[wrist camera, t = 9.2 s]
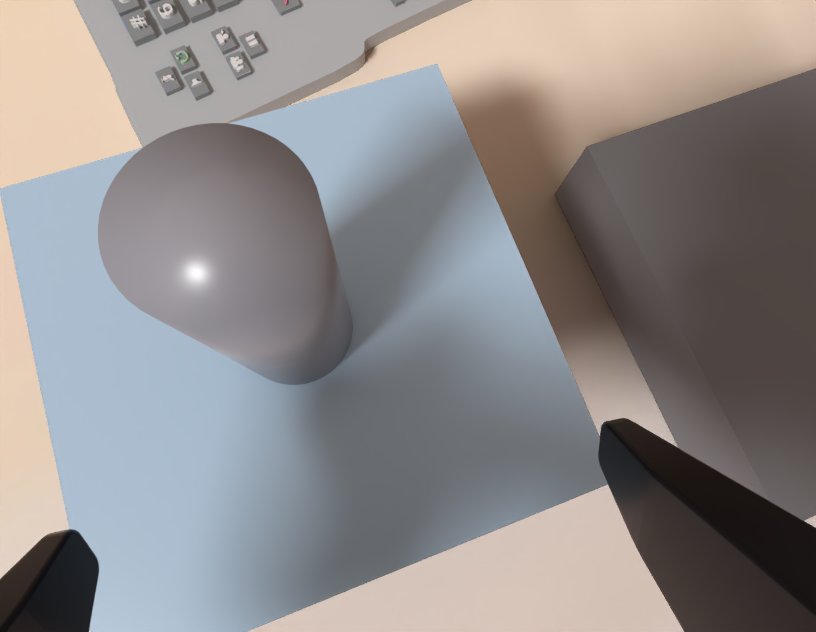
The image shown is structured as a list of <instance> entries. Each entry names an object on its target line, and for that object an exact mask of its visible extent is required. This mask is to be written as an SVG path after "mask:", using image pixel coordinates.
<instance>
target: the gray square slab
mask: <svg viewBox="0 0 816 632" xmlns="http://www.w3.org/2000/svg"><path fill="white" fill-rule="evenodd" d="M555 196H556V198H557V200H558V202H559V204H560V206H561V208H562V210H563V212H564V215H565V217H566V219H567V221H568V223H569V225H570V227H571V229H572V231H573V233H574V235H575V237H576V239H577V241H578V243H579V245H580V247H581V249H582V251H583V253H584V255H585V257H586V259H587V262H588V264H589V266H590V268H591V270H592V272H593V274H594V276H595V278H596V280H597V282H598V284H599V286H600V288H601V290H602V292H603V294H604V296H605V298H606V300H607V302H608V304H609V306H610V309H611V311H612V313H613V315H614V317H615V319H616V321H617V323H618V325H619V327H620V329H621V331H622V333H623V335H624V337H625V339H626V341H627V343H628V345H629V347H630V349H631V351H632V353H633V356H634V358H635V360H636V362H637V364H638V366H639V368H640V370H641V372H642V374H643V376H644V378H645V380H646V382H647V384H648V386H649V388H650V390H651V392H652V394H653V396H654V398H655V400H656V403H657V405H658V407H659V409H660V411H661V413H662V415H663V417H664V419H665V421H666V423H667V425H668V427H669V429H670V431H671V433H672V435H673V437H674V439H675V441H676V443H677V445H678V447H679V449H681V450H683V451H684V452H686V453H688V454H689V455H691V456H693V457H695V458H696V459H698V460H700V461H701V462H703V463H705V464H707V465H708V466H710V467H712V468H714V469H715V470H717V471H719V472H720V473H722V474H724V475H726V476H727V477H729V478H731V479H732V480H734V481H736V482H738V483H739V484H741V485H743V486H744V487H746V488H748V489H750V490H751V491H753V492H755V493H757V494H758V495H760V496H762V497H763V498H765V499H767V500H769V501H770V502H772V503H774V504H775V505H777V506H779V507H781V508H782V509H784V510H786V511H788V512H789V513H791V514H793V515H794V516H796V517H798V518H800V519H801V520H803V521H804V520H806V519H808V518H810V517H813V516H815V515H816V69H813V70H810V71H807V72H804V73H801V74H799V75H796V76H793V77H790V78H787V79H784V80H781V81H778V82H775V83H772V84H769V85H766V86H763V87H760V88H757V89H755V90H752V91H749V92H746V93H743V94H740V95H737V96H734V97H731V98H728V99H725V100H722V101H719V102H716V103H713V104H711V105H708V106H705V107H702V108H699V109H696V110H693V111H690V112H687V113H684V114H681V115H678V116H675V117H672V118H669V119H667V120H664V121H661V122H658V123H655V124H652V125H649V126H646V127H643V128H640V129H637V130H634V131H631V132H628V133H626V134H623V135H620V136H617V137H614V138H611V139H608V140H605V141H602V142H599V143H596V144H593V145H590V146H587V147H586V149H585V150H584V152H583V153H582V155H581V156H580V158H579V159H578V161H577V162H576V164H575V165H574V167H573V168H572V170H571V171H570V172H569V174H568V175H567V177H566V178H565V180H564V181H563V183H562V184H561V186H560V187H559V189H558V190H557V192H556V193H555Z"/></svg>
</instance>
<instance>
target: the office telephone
mask: <svg viewBox="0 0 816 632" xmlns="http://www.w3.org/2000/svg"><path fill="white" fill-rule="evenodd" d="M469 1H471V0H74V2H75V4H76V6H77V8H78V10H79V12H80V14H81V16H82V18H83V20H84V22H85V24H86V26H87V28H88V30H89V32H90V34H91V36H92V38H93V40H94V42H95V44H96V46H97V48H98V50H99V52H100V54H101V56H102V58H103V60H104V62H105V64H106V66H107V68H108V70H109V72H110V74H111V77H112V79H113V82H114V84H115V87H116V92H117V94H118V97H119V99H120V101H121V103H122V105H123V108H124V110H125V112H126V114H127V116H128V119H129V121H130V123H131V125H132V127H133V129H134V131H135V133H136V135H137V137H138V139H139V141H140V143H141V145H142V147H145V146H146V145H148V144H149V143H151V142H152V141H154V140H156V139H157V138H159V137H161V136H164V135H166V134H168V133H170V132H173V131H176V130H178V129H181V128H185V127H189V126H194V125H199V124H208V123H231V122H235V121H238V120H242V119H245V118H249V117H252V116H256V115H260V114H263V113H267V112H270V111H274V110H277V109H281V108H284V107H286V106H288V105H290V104H292V103H294V102H297V101H299V100H301V99H303V98H305V97H307V96H309V95H311V94H313V93H315V92H318V91H320V90H322V89H324V88H326V87H328V86H330V85H332V84H334V83H336V82H338V81H340V80H342V79H344V78H345V77H347V76H349V75H351V74H352V73H354V72H356V71H358V70H359V69H360V68H361V67H362V66H363V65H364V63H365V53H366V51H368V50H370V49H371V48H373V47H375V46H377V45H378V44H380V43H382V42H384V41H386V40H388V39H390V38H392V37H394V36H396V35H398V34H401V33H403V32H405V31H407V30H409V29H411V28H413V27H415V26H417V25H419V24H421V23H423V22H425V21H427V20H430V19H432V18H434V17H436V16H438V15H441V14H443V13H445V12H447V11H449V10H452V9H454V8H456V7H458V6H460V5H462V4H465V3H467V2H469Z"/></svg>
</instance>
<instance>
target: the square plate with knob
mask: <svg viewBox="0 0 816 632" xmlns="http://www.w3.org/2000/svg"><path fill="white" fill-rule="evenodd" d="M0 196H1V200H2V205H3V210H4V215H5V220H6V224H7V229H8V234H9V239H10V244H11V249H12V253H13V258H14V263H15V268H16V273H17V278H18V282H19V287H20V292H21V297H22V302H23V306H24V311H25V316H26V321H27V326H28V331H29V335H30V340H31V345H32V350H33V355H34V360H35V364H36V369H37V374H38V379H39V384H40V389H41V393H42V398H43V403H44V408H45V413H46V417H47V422H48V427H49V432H50V437H51V442H52V446H53V451H54V456H55V461H56V466H57V471H58V475H59V480H60V485H61V490H62V495H63V500H64V504H65V509H66V514H67V519H68V524H69V528H70V529H74V530H76V531H78V532H79V533H80V534H81V535H82V537H83V538H84V540H85V541H86V542H87V544H88V545H89V547H90V548H91V550H92V551H93V552H94V554H95V555H96V557H97V559H98V562H99V576H98V582H97V588H96V593H95V599H94V605H93V611H92V617H91V623H90V630H91V632H247V631H249V630H252V629H254V628H257V627H259V626H262V625H264V624H266V623H269V622H271V621H274V620H276V619H279V618H281V617H284V616H286V615H289V614H291V613H293V612H296V611H298V610H301V609H303V608H306V607H308V606H311V605H313V604H316V603H318V602H320V601H323V600H325V599H328V598H330V597H333V596H335V595H338V594H340V593H343V592H345V591H347V590H350V589H352V588H355V587H357V586H360V585H362V584H365V583H367V582H370V581H372V580H374V579H377V578H379V577H382V576H384V575H387V574H389V573H392V572H394V571H397V570H399V569H401V568H404V567H406V566H409V565H411V564H414V563H416V562H419V561H421V560H423V559H426V558H428V557H431V556H433V555H436V554H438V553H441V552H443V551H446V550H448V549H450V548H453V547H455V546H458V545H460V544H463V543H465V542H468V541H470V540H473V539H475V538H477V537H480V536H482V535H485V534H487V533H490V532H492V531H495V530H497V529H500V528H502V527H504V526H507V525H509V524H512V523H514V522H517V521H519V520H522V519H524V518H527V517H529V516H531V515H534V514H536V513H539V512H541V511H544V510H546V509H549V508H551V507H554V506H556V505H558V504H561V503H563V502H566V501H568V500H571V499H573V498H576V497H578V496H580V495H583V494H585V493H588V492H590V491H593V490H595V489H598V488H600V487H603V486H605V485H607V484H608V483H607V481H606V479H605V476H604V474H603V472H602V470H601V467H600V464H599V460H598V450H599V442H600V436H599V434H598V432H597V429H596V427H595V425H594V422H593V420H592V418H591V416H590V413H589V411H588V409H587V406H586V404H585V402H584V400H583V397H582V395H581V393H580V390H579V388H578V386H577V383H576V381H575V379H574V377H573V374H572V372H571V370H570V367H569V365H568V363H567V361H566V358H565V356H564V354H563V351H562V349H561V347H560V344H559V342H558V340H557V338H556V335H555V333H554V331H553V328H552V326H551V324H550V322H549V319H548V317H547V315H546V312H545V310H544V308H543V305H542V303H541V301H540V299H539V296H538V294H537V292H536V289H535V287H534V285H533V283H532V280H531V278H530V276H529V273H528V271H527V269H526V267H525V264H524V262H523V260H522V257H521V255H520V253H519V250H518V248H517V246H516V244H515V241H514V239H513V237H512V234H511V232H510V230H509V228H508V225H507V223H506V221H505V218H504V216H503V214H502V211H501V209H500V207H499V205H498V202H497V200H496V198H495V195H494V193H493V191H492V189H491V186H490V184H489V182H488V179H487V177H486V175H485V172H484V170H483V168H482V166H481V163H480V161H479V159H478V156H477V154H476V152H475V150H474V147H473V145H472V143H471V140H470V138H469V136H468V133H467V131H466V129H465V127H464V124H463V122H462V120H461V117H460V115H459V113H458V111H457V108H456V106H455V104H454V101H453V99H452V97H451V94H450V92H449V90H448V88H447V85H446V83H445V81H444V78H443V76H442V74H441V72H440V69H439V67H438V65H437V64H435V65H431V66H428V67H424V68H421V69H417V70H414V71H410V72H407V73H403V74H400V75H396V76H393V77H389V78H386V79H382V80H379V81H375V82H372V83H368V84H365V85H361V86H358V87H354V88H351V89H347V90H344V91H340V92H337V93H333V94H330V95H326V96H323V97H319V98H316V99H312V100H309V101H305V102H302V103H298V104H295V105H291V106H288V107H284V108H281V109H277V110H274V111H270V112H267V113H263V114H260V115H256V116H252V117H249V118H245V119H242V120H238V121H235V122H231V123H208V124H199V125H194V126H189V127H185V128H181V129H178V130H176V131H173V132H170V133H168V134H166V135H164V136H161V137H159V138H157V139H156V140H154V141H152V142H151V143H149V144H148V145H146V146H145V147H143V148H140V149H137V150H133V151H130V152H126V153H123V154H119V155H116V156H112V157H109V158H105V159H102V160H98V161H95V162H91V163H88V164H84V165H81V166H77V167H74V168H70V169H67V170H63V171H60V172H56V173H53V174H49V175H46V176H42V177H39V178H35V179H32V180H28V181H25V182H21V183H18V184H14V185H11V186H7V187H4V188H0Z"/></svg>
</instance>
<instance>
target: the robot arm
mask: <svg viewBox="0 0 816 632" xmlns="http://www.w3.org/2000/svg"><path fill="white" fill-rule="evenodd" d="M598 460H599V464H600V467H601V470H602V472H603V474H604V476H605V479H606V481H607V483H608V485H609V488H610V490H611V492H612V494H613V497H614V499H615V501H616V503H617V506H618V508H619V510H620V512H621V515H622V517H623V519H624V521H625V524H626V526H627V528H628V530H629V533H630V535H631V537H632V539H633V541H634V543H635V546H636V548H637V549H638V551H639V553H640V555H641V557H642V559H643V561H644V562H645V564H646V566H647V567H648V569H649V571H650V573H651V574H652V576H653V578H654V580H655V581H656V583H657V585H658V587H659V588H660V590H661V592H662V594H663V595H664V597H665V599H666V601H667V602H668V604H669V606H670V608H671V609H672V611H673V613H674V614H675V616H676V618H677V620H678V621H679V623H680V625H681V627H682V628H683V630H684V632H816V528H815V527H813V526H812V525H810V524H808V523H806V522H805V521H803V520H801V519H800V518H798V517H796V516H794V515H793V514H791V513H789V512H788V511H786V510H784V509H782V508H781V507H779V506H777V505H775V504H774V503H772V502H770V501H769V500H767V499H765V498H763V497H762V496H760V495H758V494H757V493H755V492H753V491H751V490H750V489H748V488H746V487H744V486H743V485H741V484H739V483H738V482H736V481H734V480H732V479H731V478H729V477H727V476H726V475H724V474H722V473H720V472H719V471H717V470H715V469H714V468H712V467H710V466H708V465H707V464H705V463H703V462H701V461H700V460H698V459H696V458H695V457H693V456H691V455H689V454H688V453H686V452H684V451H683V450H681V449H679V448H677V447H676V446H674V445H672V444H670V443H669V442H667V441H665V440H664V439H662V438H660V437H658V436H657V435H655V434H653V433H652V432H650V431H648V430H646V429H645V428H643V427H641V426H640V425H638V424H636V423H634V422H633V421H631V420H629V419H626V418H621V419H616V420H611V421H606V422H604V423H603V425H602V427H601V433H600V442H599V450H598ZM98 576H99V562H98V559H97V557H96V555H95V554H94V552H93V551H92V550H91V548H90V547H89V545H88V544H87V542H86V541H85V540H84V538H83V537H82V535H81V534H80V533H79V532H78V531H76V530H74V529H69V530H64V531H59V532H54V533H50V534H48V535H46V536H45V537H43V538H42V539H41V540H40V541H39V542H38V543H37V544H36V545H35V546H34V547H33V548H32V549H31V550H30V551H29V552H28V553H27V554H26V555H24V556H23V557H22V558H21V559H20V560H19V561H18V562H17V563H16V564H15V565H14V566H13V567H12V568H11V569H10V570H9V571H8V572H7V573H6V574H5V575H4V576H3V577H2V578H1V579H0V632H89V628H90V623H91V617H92V611H93V605H94V599H95V593H96V588H97V582H98Z"/></svg>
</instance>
